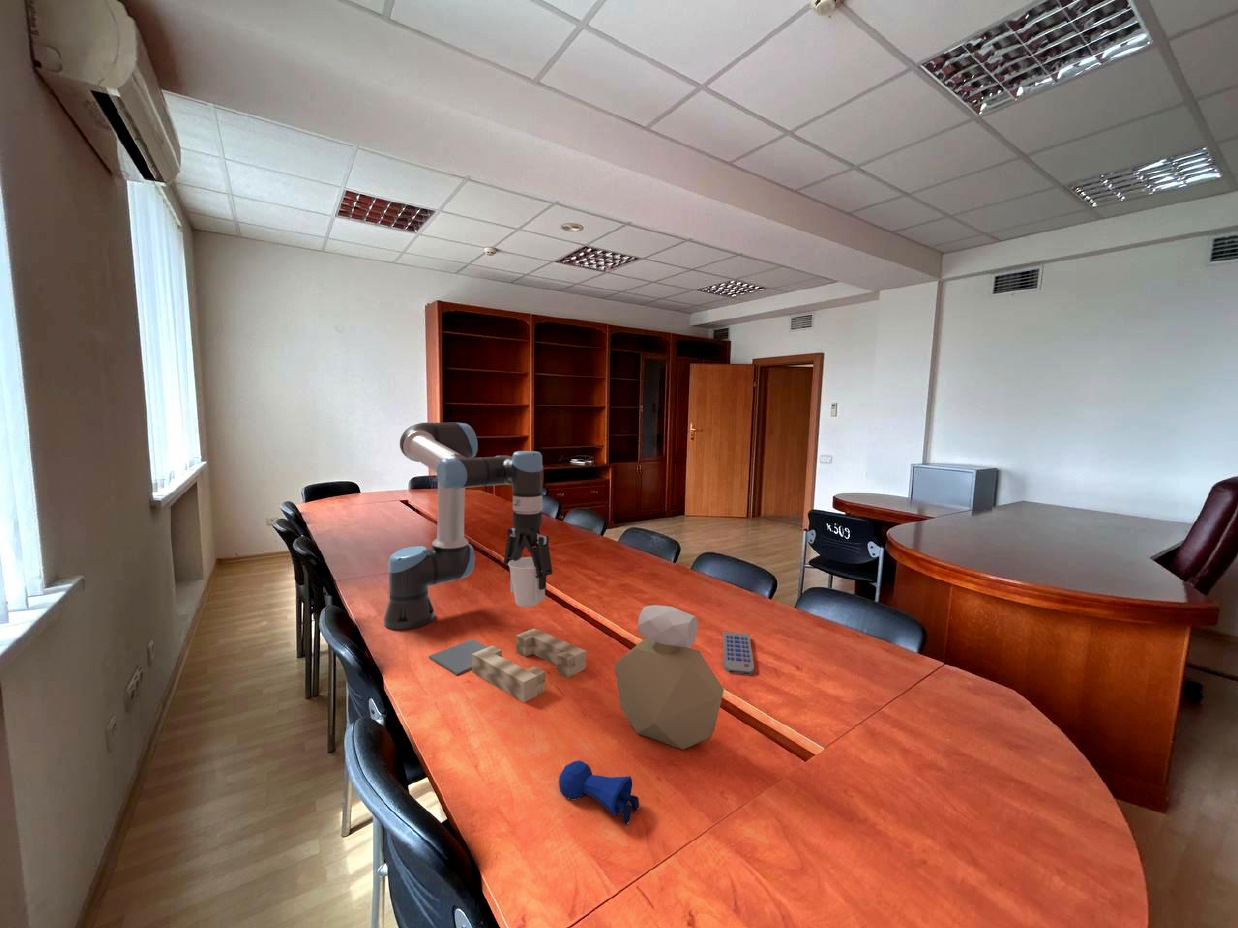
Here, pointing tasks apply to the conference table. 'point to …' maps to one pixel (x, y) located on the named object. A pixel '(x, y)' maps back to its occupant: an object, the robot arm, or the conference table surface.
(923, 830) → the conference table surface
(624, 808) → the toy
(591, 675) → the conference table surface
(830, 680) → the conference table surface
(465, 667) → the coaster
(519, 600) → the cup
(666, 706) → the perfume bottle
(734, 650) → the remote control
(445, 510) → the robot arm
